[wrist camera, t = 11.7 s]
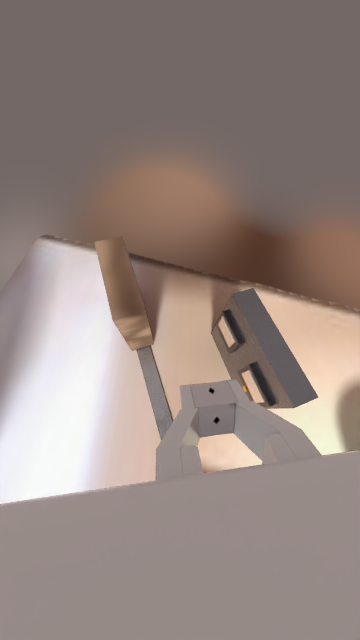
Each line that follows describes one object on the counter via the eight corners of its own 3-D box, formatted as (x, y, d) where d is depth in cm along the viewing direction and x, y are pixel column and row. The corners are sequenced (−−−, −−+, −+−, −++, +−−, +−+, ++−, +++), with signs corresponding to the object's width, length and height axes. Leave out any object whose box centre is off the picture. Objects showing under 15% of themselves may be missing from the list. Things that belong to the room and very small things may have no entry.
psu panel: (164, 450, 29) (160, 482, 16) (123, 301, 39) (102, 250, 27) (263, 408, 32) (324, 407, 20) (202, 280, 43) (215, 225, 30)
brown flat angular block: (132, 350, 34) (112, 320, 23) (116, 291, 39) (94, 242, 28) (153, 343, 35) (146, 311, 24) (136, 286, 40) (122, 236, 29)
